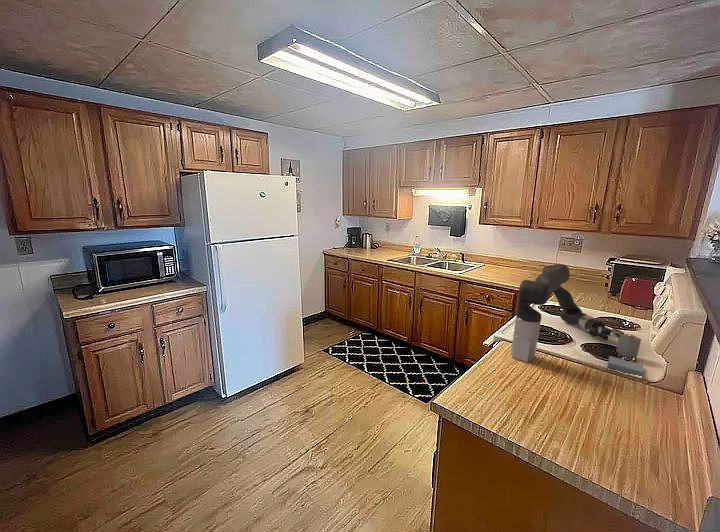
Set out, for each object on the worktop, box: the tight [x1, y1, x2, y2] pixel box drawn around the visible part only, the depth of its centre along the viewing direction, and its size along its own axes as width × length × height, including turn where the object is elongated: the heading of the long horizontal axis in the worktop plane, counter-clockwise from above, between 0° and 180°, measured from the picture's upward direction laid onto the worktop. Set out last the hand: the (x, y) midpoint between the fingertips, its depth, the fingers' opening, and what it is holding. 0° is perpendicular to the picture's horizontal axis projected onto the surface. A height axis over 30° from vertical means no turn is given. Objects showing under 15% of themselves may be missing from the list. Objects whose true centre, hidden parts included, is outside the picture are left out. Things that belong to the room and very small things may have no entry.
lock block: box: [615, 333, 642, 358], centre depth 140 cm, size 5×5×11 cm
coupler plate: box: [606, 355, 645, 378], centre depth 131 cm, size 12×11×3 cm
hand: (616, 338), depth 146 cm, fingers open, 8 cm apart
